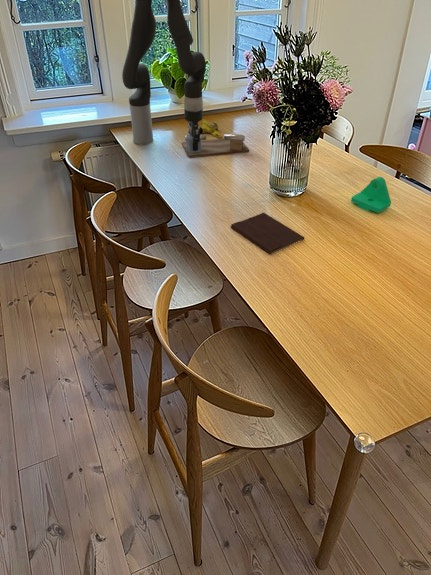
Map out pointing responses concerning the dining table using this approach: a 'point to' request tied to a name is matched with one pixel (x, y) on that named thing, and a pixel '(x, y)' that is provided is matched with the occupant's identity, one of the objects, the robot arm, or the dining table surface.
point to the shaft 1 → (203, 136)
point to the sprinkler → (210, 128)
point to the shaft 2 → (228, 136)
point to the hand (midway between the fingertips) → (193, 147)
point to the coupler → (190, 144)
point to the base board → (218, 147)
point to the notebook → (266, 233)
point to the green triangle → (373, 196)
